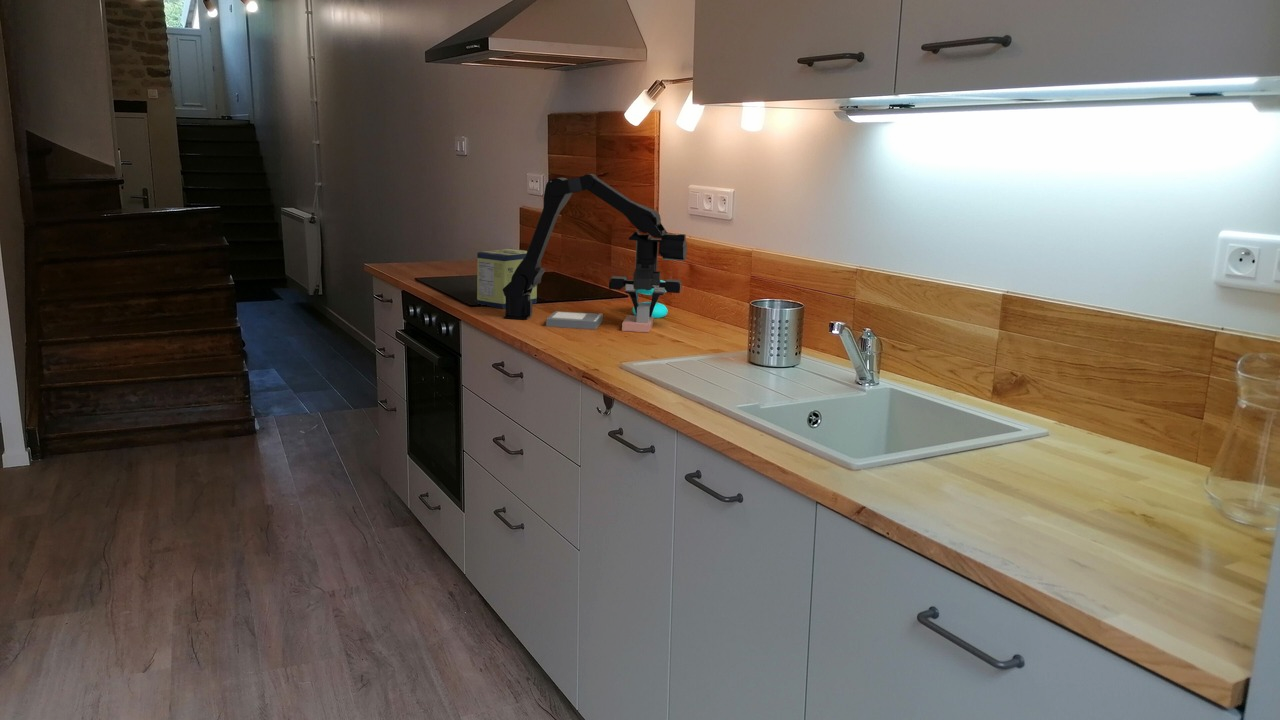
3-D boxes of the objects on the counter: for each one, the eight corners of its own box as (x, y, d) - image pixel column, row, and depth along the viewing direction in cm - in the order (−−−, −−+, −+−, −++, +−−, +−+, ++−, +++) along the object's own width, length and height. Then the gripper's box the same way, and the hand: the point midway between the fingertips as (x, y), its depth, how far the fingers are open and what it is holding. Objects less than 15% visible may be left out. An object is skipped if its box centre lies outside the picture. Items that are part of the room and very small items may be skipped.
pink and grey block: (621, 330, 244) (622, 308, 242) (627, 322, 255) (628, 300, 254) (648, 332, 243) (649, 309, 242) (653, 323, 255) (654, 302, 253)
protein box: (537, 303, 280) (538, 251, 277) (503, 309, 267) (503, 255, 264) (510, 298, 286) (511, 248, 282) (475, 305, 273) (476, 251, 269)
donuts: (664, 284, 259) (629, 281, 262) (662, 320, 261) (628, 317, 264) (672, 280, 269) (639, 277, 271) (671, 314, 271) (637, 311, 273)
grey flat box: (546, 326, 246) (546, 318, 245) (555, 318, 257) (555, 310, 257) (595, 329, 244) (596, 321, 244) (602, 321, 256) (602, 313, 255)
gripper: (606, 259, 238) (604, 320, 241) (680, 263, 236) (676, 324, 240) (612, 254, 249) (610, 312, 252) (682, 258, 247) (679, 316, 250)
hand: (643, 316), depth 248 cm, fingers closed on pink and grey block, 3 cm apart
